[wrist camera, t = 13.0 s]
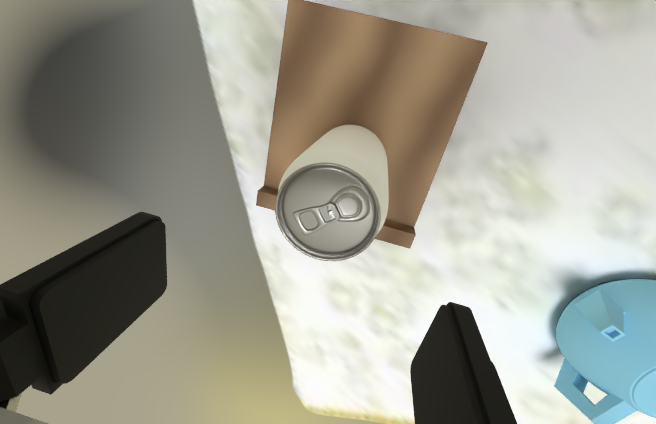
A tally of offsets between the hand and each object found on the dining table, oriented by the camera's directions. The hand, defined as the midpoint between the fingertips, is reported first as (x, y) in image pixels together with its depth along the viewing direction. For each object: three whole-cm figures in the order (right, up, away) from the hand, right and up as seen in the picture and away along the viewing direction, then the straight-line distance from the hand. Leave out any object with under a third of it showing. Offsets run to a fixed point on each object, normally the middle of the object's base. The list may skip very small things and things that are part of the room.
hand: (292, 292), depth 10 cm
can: (+3, +7, +17) cm, 18 cm away
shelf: (+5, +12, +21) cm, 24 cm away
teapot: (+35, -10, +25) cm, 44 cm away
